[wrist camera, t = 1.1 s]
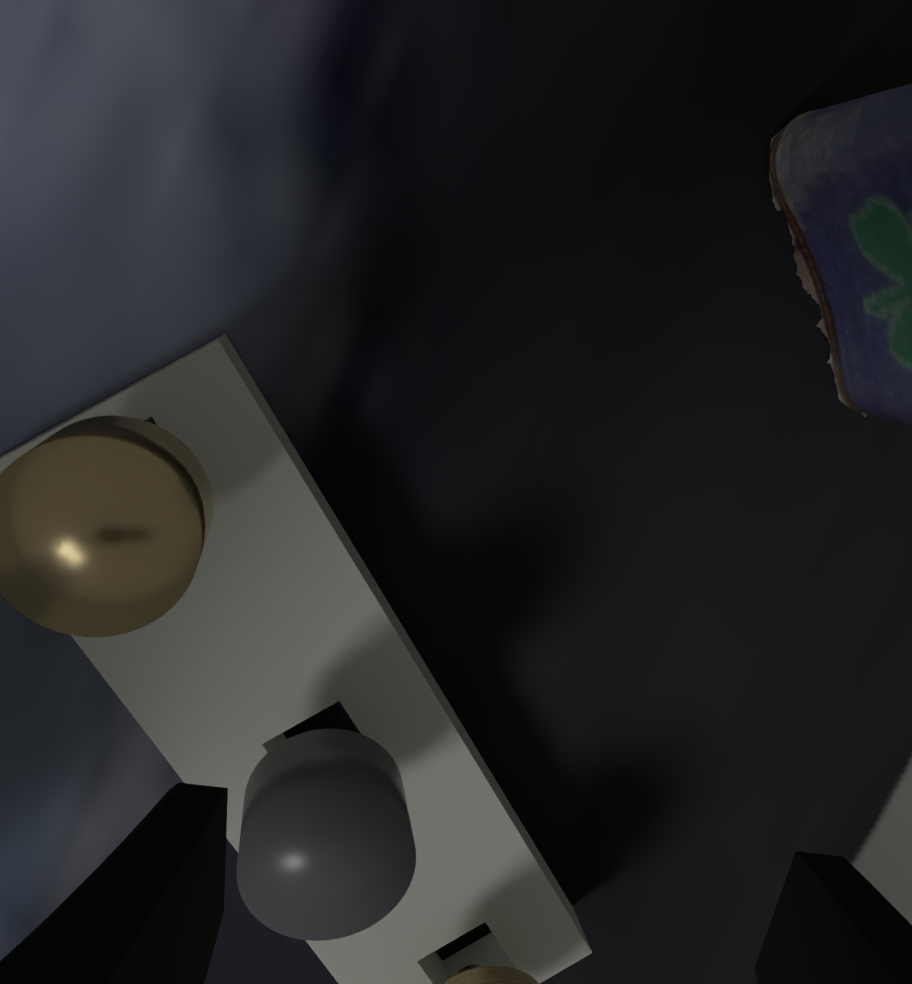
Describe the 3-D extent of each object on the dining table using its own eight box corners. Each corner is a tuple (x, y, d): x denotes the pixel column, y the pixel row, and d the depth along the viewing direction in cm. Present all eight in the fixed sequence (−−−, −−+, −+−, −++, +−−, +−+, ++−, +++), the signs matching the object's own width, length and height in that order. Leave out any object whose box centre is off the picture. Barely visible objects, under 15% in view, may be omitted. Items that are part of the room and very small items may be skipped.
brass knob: (25, 546, 19) (-41, 613, 16) (59, 383, 19) (-2, 413, 15) (197, 583, 20) (174, 655, 17) (237, 430, 20) (222, 469, 16)
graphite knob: (231, 817, 22) (217, 930, 19) (268, 685, 22) (262, 775, 18) (373, 838, 23) (388, 949, 19) (414, 713, 22) (437, 804, 19)
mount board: (-15, 464, 21) (-46, 483, 19) (225, 333, 21) (218, 339, 20) (394, 1010, 28) (400, 1064, 26) (572, 906, 28) (592, 952, 26)
